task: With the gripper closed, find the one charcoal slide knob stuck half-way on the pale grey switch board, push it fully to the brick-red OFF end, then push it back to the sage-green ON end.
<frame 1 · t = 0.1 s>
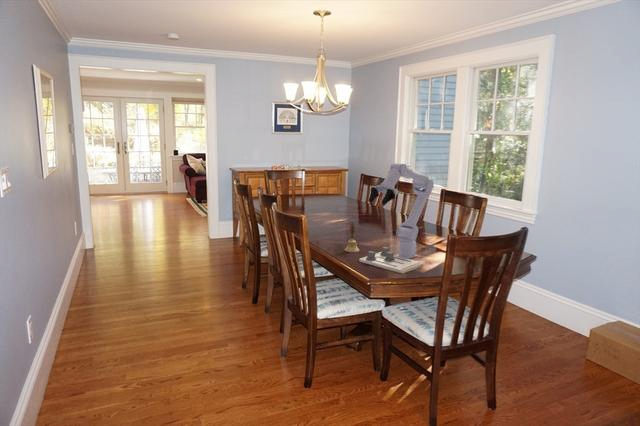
hand: (376, 202, 210), 32 cm above the table, tool tilted 50°, fingers open, 7 cm apart
tripped knob: (389, 256, 223), point 4 cm above the table, slide at 7.0 cm
switch board: (391, 263, 223), on the table
knob a: (385, 251, 232), point 4 cm above the table, slide at 0.0 cm
hand bell: (351, 250, 246), on the table
knob c: (371, 255, 223), point 4 cm above the table, slide at 0.0 cm
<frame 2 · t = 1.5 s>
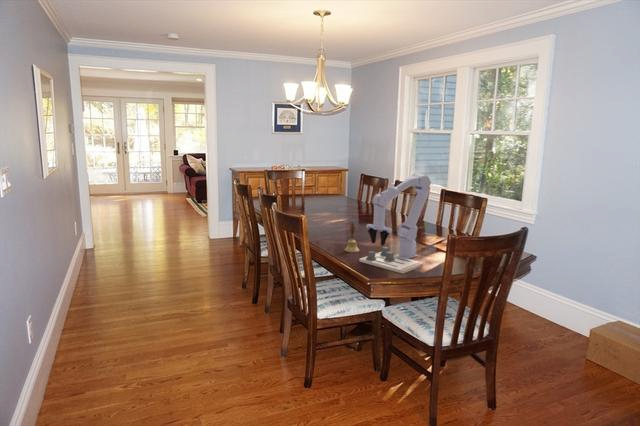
hand: (378, 244, 227), 8 cm above the table, tool pointing down, fingers open, 5 cm apart
nothing on the table moved.
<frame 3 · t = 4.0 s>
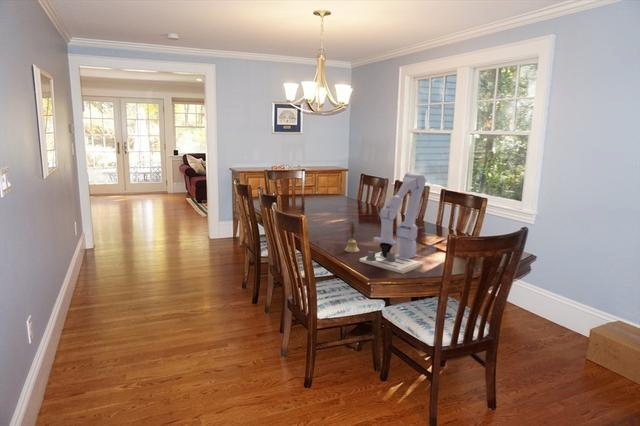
hand: (385, 257, 225), 2 cm above the table, tool pointing down, fingers closed
tripped knob: (390, 256, 222), point 4 cm above the table, slide at 7.6 cm, touching gripper
everything else where it was.
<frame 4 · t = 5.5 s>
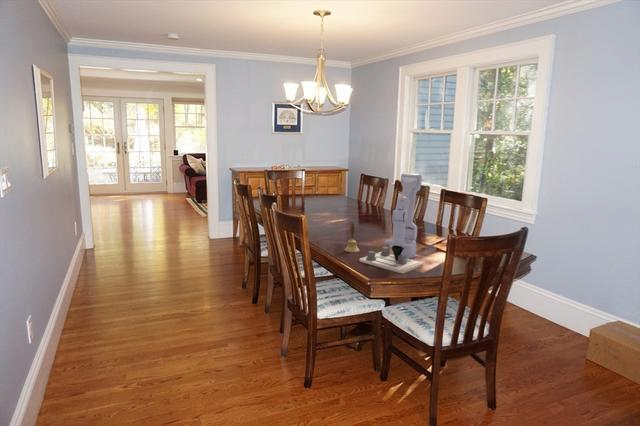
hand: (397, 260, 220), 2 cm above the table, tool pointing down, fingers closed
tripped knob: (401, 259, 218), point 4 cm above the table, slide at 14.2 cm, touching gripper
everything else where it was.
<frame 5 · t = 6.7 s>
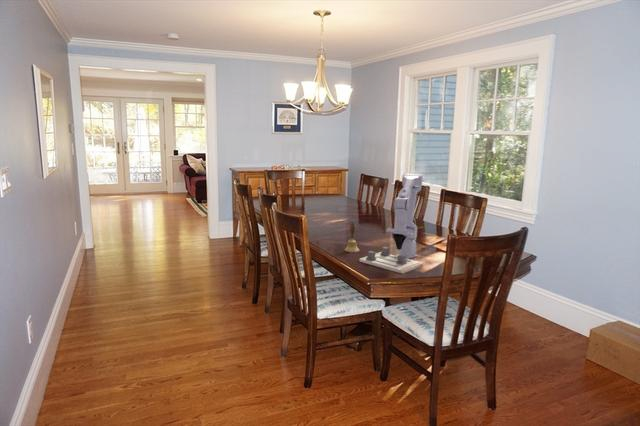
hand: (399, 249, 218), 8 cm above the table, tool pointing down, fingers closed
tripped knob: (401, 259, 218), point 4 cm above the table, slide at 14.1 cm
everything else where it was.
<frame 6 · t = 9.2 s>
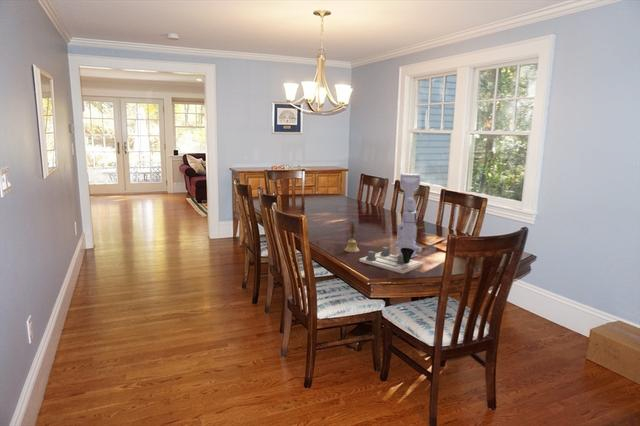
hand: (406, 263, 216), 2 cm above the table, tool pointing down, fingers closed
tripped knob: (401, 259, 218), point 4 cm above the table, slide at 14.1 cm, touching gripper
everything else where it was.
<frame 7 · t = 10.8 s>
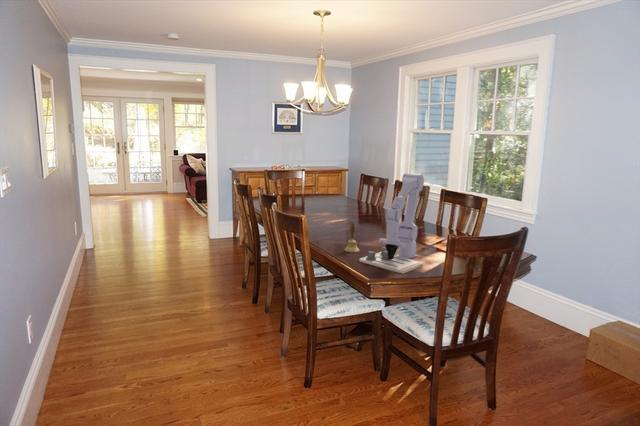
hand: (391, 258, 222), 2 cm above the table, tool pointing down, fingers closed
tripped knob: (386, 255, 224), point 4 cm above the table, slide at 4.9 cm, touching gripper
everything else where it was.
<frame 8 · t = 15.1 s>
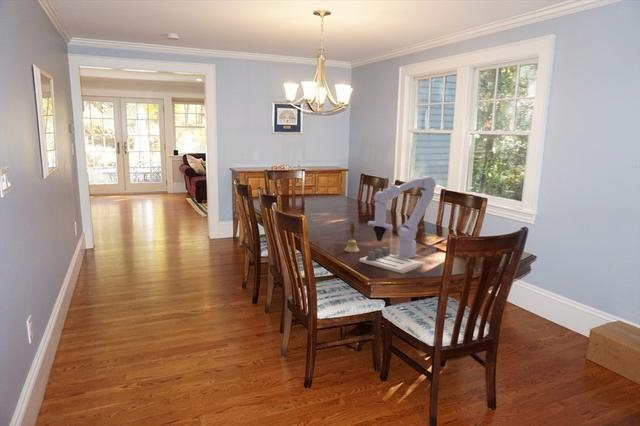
hand: (379, 240, 230), 9 cm above the table, tool pointing down, fingers closed
tripped knob: (378, 253, 228), point 4 cm above the table, slide at -0.1 cm
everything else where it was.
at the end: tripped knob slide at -0.1 cm; knob a slide at 0.0 cm; knob c slide at 0.0 cm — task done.
